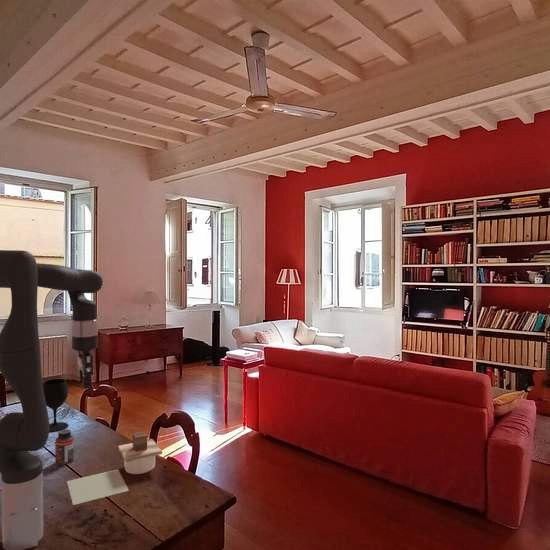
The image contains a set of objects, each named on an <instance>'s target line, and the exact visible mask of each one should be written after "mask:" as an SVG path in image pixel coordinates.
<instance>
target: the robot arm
mask: <svg viewBox="0 0 550 550" xmlns="http://www.w3.org/2000/svg"><path fill="white" fill-rule="evenodd" d="M103 284H104V281H103V277H102V276H101V274H100V273H99V272H98V271H96V270H89V269H78V268H72V267H69V266H65V265H60V264H59V265H58V264H52V263H41V262H37V261H36V258H35V256H34V255H33V254H32V253H31V252H29V251H28V250H27V251H26V250H14V249H13V250H11V249H10V250H9V249H5V250H4V249H0V289H1V288H2V289H3V288H4V289H10V293H11V294H10V295H11V307H10V313H9V316H8V318H7V319H6V321H5V323H4V325H3V327H2V329H1V331H0V373H1V375H2V377H3V378H4V380H5V381H6V383H7V384H8V385H9V386H10V388H11V389H12V391H14V393H15V394H16V396H17V398H18V400H19V402H20V405H21V409H22V412H9V413H7V414H6V415H4V416H3V417H2V418H1V420H0V475H1V526H2V527H1V528H2V529H1V531H2V533H1V534H2V537H1V538H2V539H1V540H2V548H3V550H27V549H30V548H34V547H37V546H38V545H39V542H41V539H42V538H43V536H44V495H43V494H44V491H43V489H44V487H43V486H44V483H43V481H44V477H43V475H44V474H43V468H44V467H43V466H44V465H43V461H42V458H40V457H37V456H36V455H34V454H32V453H31V452H37V451H39V450H42V449H43V448H44V446H45V445H46V444H47V442H48V440H49V434H50V432H49V424H50V419H49V418H50V417H49V412H48V406H46V401H45V396H44V391H43V376H42V375H43V372H42V359H41V358H42V355H41V343H40V337H39V335H40V333H39V324H38V323H39V321H38V289H39V288H45V289H50V290H55V291H56V290H58V291H65V292H67V293H68V298H69V301H70V303H71V306H72V307H71V308H72V324H71V349H72V350H73V351H76V352H77V367H78V368H77V369H78V371H79V382H81V383H82V384H83V389H85V390H86V389H87V390H88V389H91V388H92V377H93V376H94V360H93V359H94V355H92V352H91V351H92V350H93V351H94V350H96V349H98V347H99V338H98V337H99V334H98V332H99V331H98V329H99V327H98V326H99V325H98V319H97V318H98V307H97V303H96V302H95V301H93V300H91V299H88V298H86V296H85V295H86V294H95V293H97V292H99V291H100V290H101V289H102V287H103Z"/></svg>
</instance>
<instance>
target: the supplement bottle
mask: <svg viewBox="0 0 550 550" xmlns="http://www.w3.org/2000/svg"><path fill="white" fill-rule="evenodd" d="M57 432H58V434H57V435H58V436H57V437H56V438H55V445H54V447H55V452H54V453H55V465H57V466H63V465H69V464H72V463H73V461H74V460H75V459H74V458H75V453H74V452H75V446H74V445H75V440H74V436H73V435H72V433H71V432H72V431H71V429H67V428H66V429H64V430H61V431H57Z"/></svg>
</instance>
